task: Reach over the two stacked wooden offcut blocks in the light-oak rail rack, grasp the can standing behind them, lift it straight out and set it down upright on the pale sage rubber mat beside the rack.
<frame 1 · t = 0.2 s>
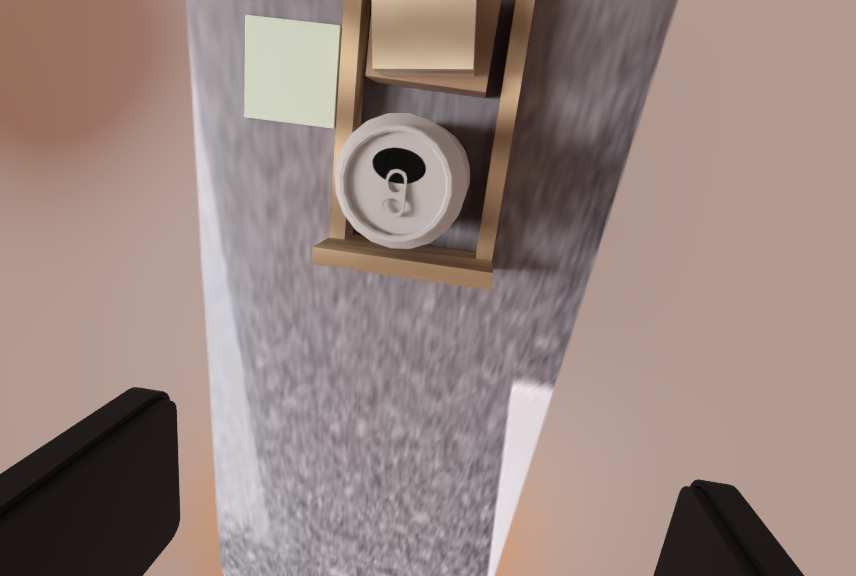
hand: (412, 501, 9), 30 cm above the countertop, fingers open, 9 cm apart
offcut small: (428, 33, 30), point 4 cm above the countertop, touching offcut large
offcut large: (437, 46, 34), resting in rack, touching offcut small
mat: (292, 73, 35), on the countertop
rack: (428, 119, 35), on the countertop
can: (422, 174, 37), resting in rack
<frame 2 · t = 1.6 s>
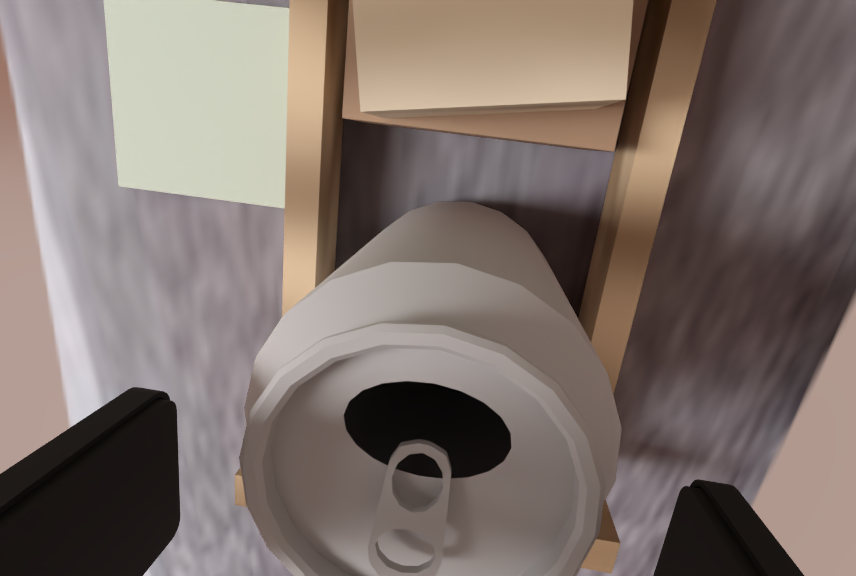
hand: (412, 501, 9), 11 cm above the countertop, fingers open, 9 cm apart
offcut small: (487, 16, 13), point 4 cm above the countertop, touching offcut large
offcut large: (489, 48, 17), resting in rack, touching offcut small
mat: (203, 104, 18), on the countertop
rack: (468, 191, 18), on the countertop
can: (455, 290, 19), resting in rack
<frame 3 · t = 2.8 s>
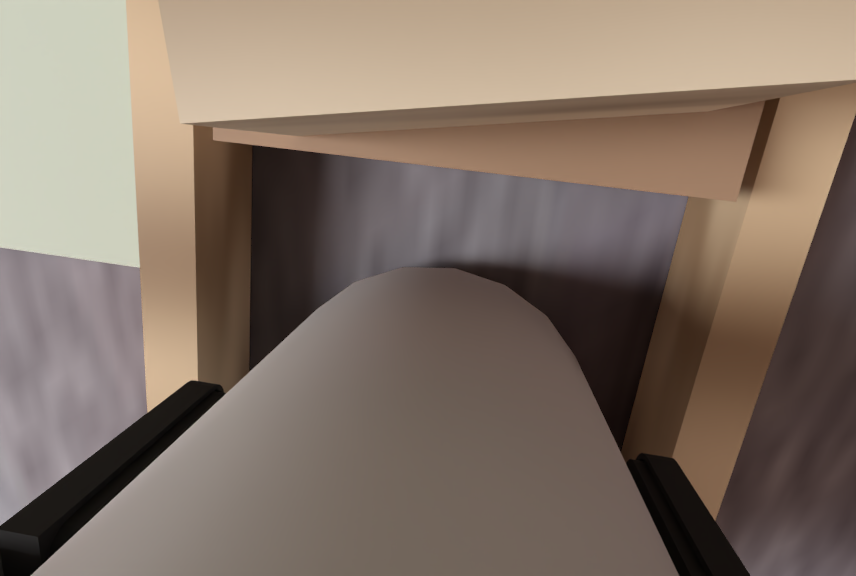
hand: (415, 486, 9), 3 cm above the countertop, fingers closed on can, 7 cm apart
offcut large: (488, 22, 10), resting in rack, touching offcut small
mat: (34, 109, 12), on the countertop
rack: (452, 248, 11), on the countertop
can: (433, 394, 13), resting in rack, touching gripper
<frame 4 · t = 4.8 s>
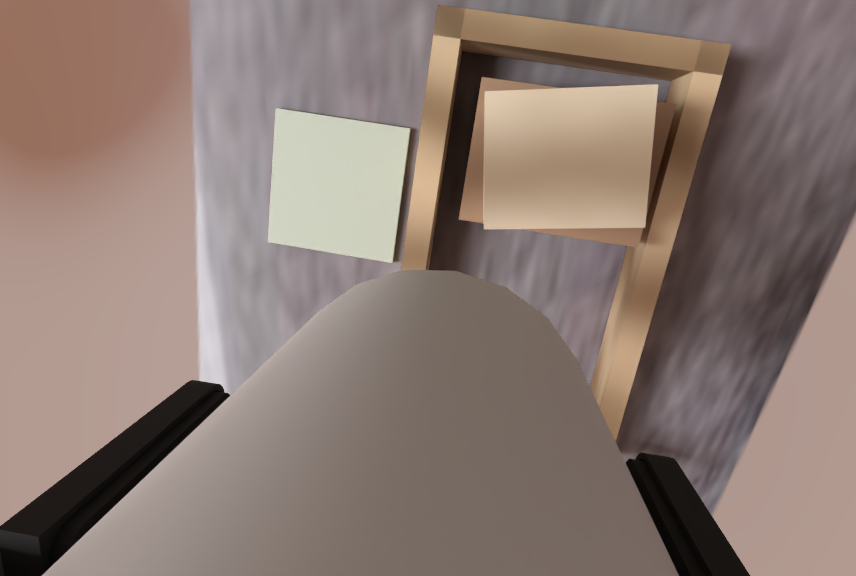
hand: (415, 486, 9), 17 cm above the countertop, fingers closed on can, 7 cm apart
offcut small: (554, 161, 20), point 4 cm above the countertop, touching offcut large
offcut large: (548, 164, 24), resting in rack, touching offcut small
mat: (337, 187, 25), on the countertop
rack: (525, 256, 25), on the countertop
can: (434, 396, 13), point 14 cm above the countertop, touching gripper
when the fingers open (5 cm above the countertop, at t = 8.2 s): can drops 1 cm, resting on mat.
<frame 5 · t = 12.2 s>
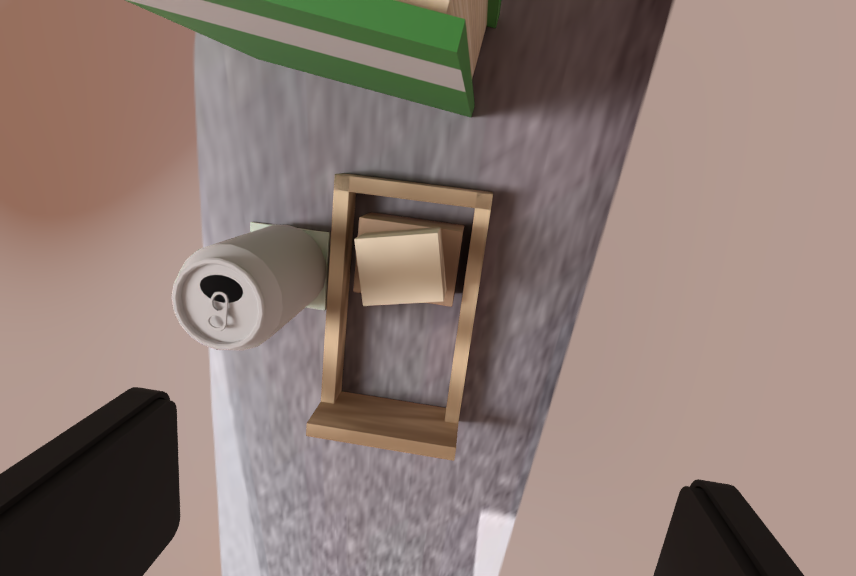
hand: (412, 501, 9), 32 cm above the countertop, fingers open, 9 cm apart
offcut small: (405, 261, 37), point 4 cm above the countertop, touching offcut large
offcut large: (413, 252, 41), resting in rack, touching offcut small
hardback book: (374, 38, 37), on the countertop
mat: (289, 266, 42), on the countertop
rack: (403, 304, 42), on the countertop
can: (289, 264, 42), resting on mat
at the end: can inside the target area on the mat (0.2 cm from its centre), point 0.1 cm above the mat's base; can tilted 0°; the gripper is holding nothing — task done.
